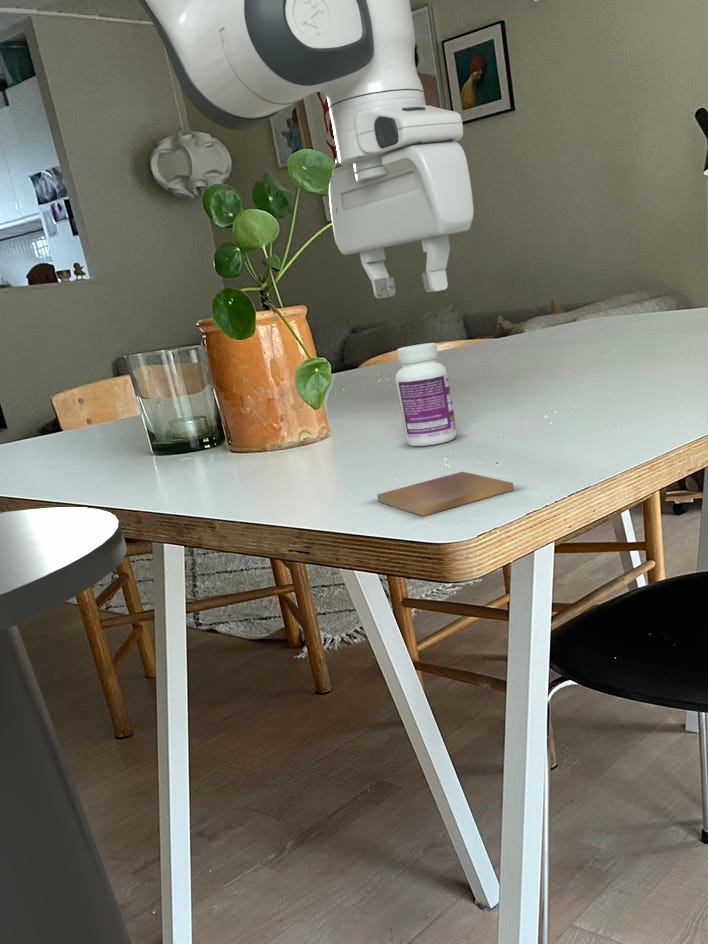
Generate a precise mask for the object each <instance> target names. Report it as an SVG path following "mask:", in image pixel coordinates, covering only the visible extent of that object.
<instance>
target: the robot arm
mask: <svg viewBox="0 0 708 944" xmlns="http://www.w3.org/2000/svg"><path fill="white" fill-rule="evenodd" d="M137 1H138V2H139V4H140V6H141V7H142V9H143V10H144V12H145V13H146V15H147V16H148V18H149V19H150V21H151V23H152V24H153V26H154V28H155V29H156V31H157V33H158V35H159V38H160V39H161V42H162V44H163V47H164V48H165V51H166V53H167V56H168V59H169V61H170V64H171V68H172V69H173V70H172V71H173V73H174V75H175V77H176V79H177V82H178V83H179V85H180V88H181V90H182V91H183V93H184V95H185V96H186V98H187V99H188V101H189V102H190V103H191V104H192V106H193V107H194V108H195V109H196V110H197V111H198V112H199V113H200V114H201V115H203V116H204V117H205V118H206V119H208V120H209V121H211V122H213V123H214V124H216V125H217V126H220V127H222V128H226V129H229V130H234V131H246V130H251V129H252V130H253V129H254V128H258V127H259V126H261V125H262V124H263V123H265V122H266V121H267V120H269V119H270V118H271V117H273V116H274V115H276V114H277V113H279V112H280V111H281V110H284V109H286V108H288V107H290V106H292V105H294V104H296V103H299V102H301V101H302V100H303V99H305V98H306V97H308V96H311V95H312V94H315V93H322V94H324V96H325V97H326V99H327V105H328V109H329V116H330V120H331V125H332V131H333V136H334V142H335V145H336V146H335V147H336V151H337V152H336V153H337V155H336V157H335V163H334V166H333V169H332V171H331V177H330V179H329V184H328V197H329V208H330V216H331V222H332V229H333V236H334V240H335V245H336V246H337V248H338V250H339V252H340V253H341V255H352V254H353V255H354V254H358V253H359V259H360V263H361V265H362V267H363V269H364V271H365V273H366V275H367V276H368V278H369V280H370V281H371V285H372V290H373V291H372V292H373V295H374V298H376V299H385V298H389V297H390V298H391V297H394V296H395V295H396V294H397V289H396V287H395V277H394V276H393V277H391V276H390V274H389V273H388V270H387V267H386V265H385V263H384V261H386V254H385V248H389V247H395V246H398V245H403V244H409V243H414V242H418V241H421V245H422V251H423V252H424V253H426V262H425V263H426V264H425V266H426V267H425V272H421V278H422V282H423V289H424V291H425V292H426V293H432V292H440V291H446V290H447V289H448V288H449V287H448V285H449V283H448V277H447V270H446V269H447V266H448V261H449V258H450V257H449V256H450V251H451V244H450V239H449V235H452V234H457V233H462V232H467V231H469V230H470V229H471V226H472V223H473V219H474V213H475V212H474V211H475V209H474V200H473V191H472V182H471V177H470V170H469V165H468V160H467V156H466V153H465V151H464V148H463V147H462V145H461V144H460V143H459V142H458V141H460V140H461V139H462V138H463V136H464V124H463V119H462V116H461V114H460V113H459V112H457V111H454V110H449V109H444V108H440V107H436V106H433V105H427V103H426V97H425V90H424V87H423V84H422V81H421V78H420V77H419V74H418V71H417V66H416V59H415V48H416V33H415V26H414V20H413V14H412V13H413V12H412V7H411V2H410V0H137ZM337 171H338V172H337ZM336 208H337V214H336Z"/></svg>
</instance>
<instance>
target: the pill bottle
mask: <svg viewBox="0 0 708 944" xmlns="http://www.w3.org/2000/svg"><path fill="white" fill-rule="evenodd" d="M396 353H397V361H398V362H399V364H400V365H401V366H402V368H400V369H399V370H398V371H397V372H396V375H395V386H396V391H397V397H398V401H399V406H400V412H401V417H402V424H403V428H404V433H405V439H406V443H407V445H409V446H411V447H428V446H433V445H439V444H444V443H448V442H451V441H452V440H454V439H456V437H457V427H456V420H455V413H454V407H453V400H452V393H451V388H450V387H451V386H450V381H449V374H448V370H447V368H446V366H444V364H442V363H440V362H437V359H438V355H439V352H438V347H437V343H436V342H426V343H419V344H414V345H413V344H412V345H408V346H404V347H403V346H402V347H399V348H397V349H396Z"/></svg>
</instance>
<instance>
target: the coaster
mask: <svg viewBox="0 0 708 944" xmlns="http://www.w3.org/2000/svg"><path fill="white" fill-rule="evenodd" d="M512 491H514V483H513V482H511V481H506V480H501V479H497V478H493V477H490V476H489V477H488V476H484V475H479V474H475V473H471V472H466V471H458V472H454V473H451V474H447V475H444V476H441V477H437V478H432V479H429V480H424V481H422V482H419V483H414V484H410V485H407V486H404V487H400V488H396V489H392V490H389V491H385V492H382V493H378V494H377V495H376V496H377V501H378V502H379V503H383V504H385V505H387V506H388V505H389V506H390V507H394V508H397V509H400V510H403V511H405V512H409V513H413V514H415V515H418V516H422V517H425V516H429V515H432V514H435V513H439V512H442V511H447V510H450V509H453V508H457V507H461V506H463V505H467V504H470V503H473V502H477V501H480V500H484V499H489V498H491V497H494V496H495V497H496V496H498V495H501V494H505V493H508V492H512Z"/></svg>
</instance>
